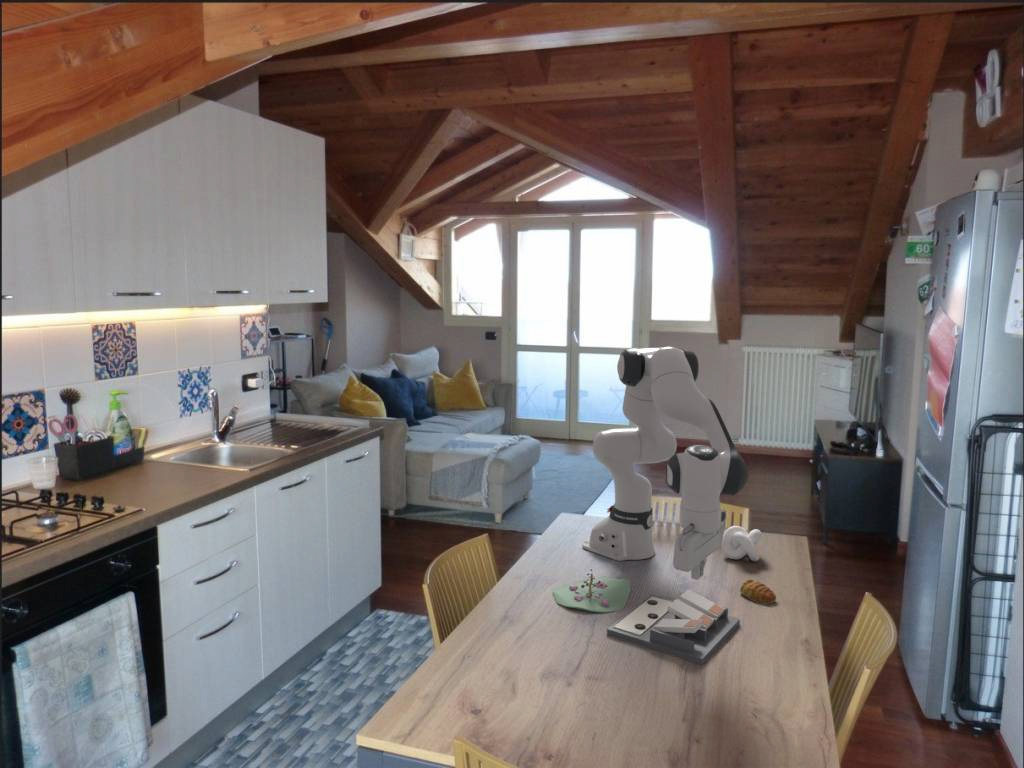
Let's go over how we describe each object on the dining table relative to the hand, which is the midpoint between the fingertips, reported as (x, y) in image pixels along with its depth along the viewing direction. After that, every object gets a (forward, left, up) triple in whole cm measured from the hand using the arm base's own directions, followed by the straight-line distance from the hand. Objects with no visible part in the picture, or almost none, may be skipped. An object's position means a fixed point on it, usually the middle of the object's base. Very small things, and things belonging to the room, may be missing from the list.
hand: (697, 577), depth 176 cm
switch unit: (-8, +7, -18) cm, 21 cm away
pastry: (+2, +38, -18) cm, 42 cm away
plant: (-34, +14, -19) cm, 41 cm away
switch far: (-4, +14, -13) cm, 20 cm away
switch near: (-4, 0, -13) cm, 14 cm away
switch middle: (-4, +7, -13) cm, 15 cm away
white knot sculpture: (-10, +62, -18) cm, 66 cm away
